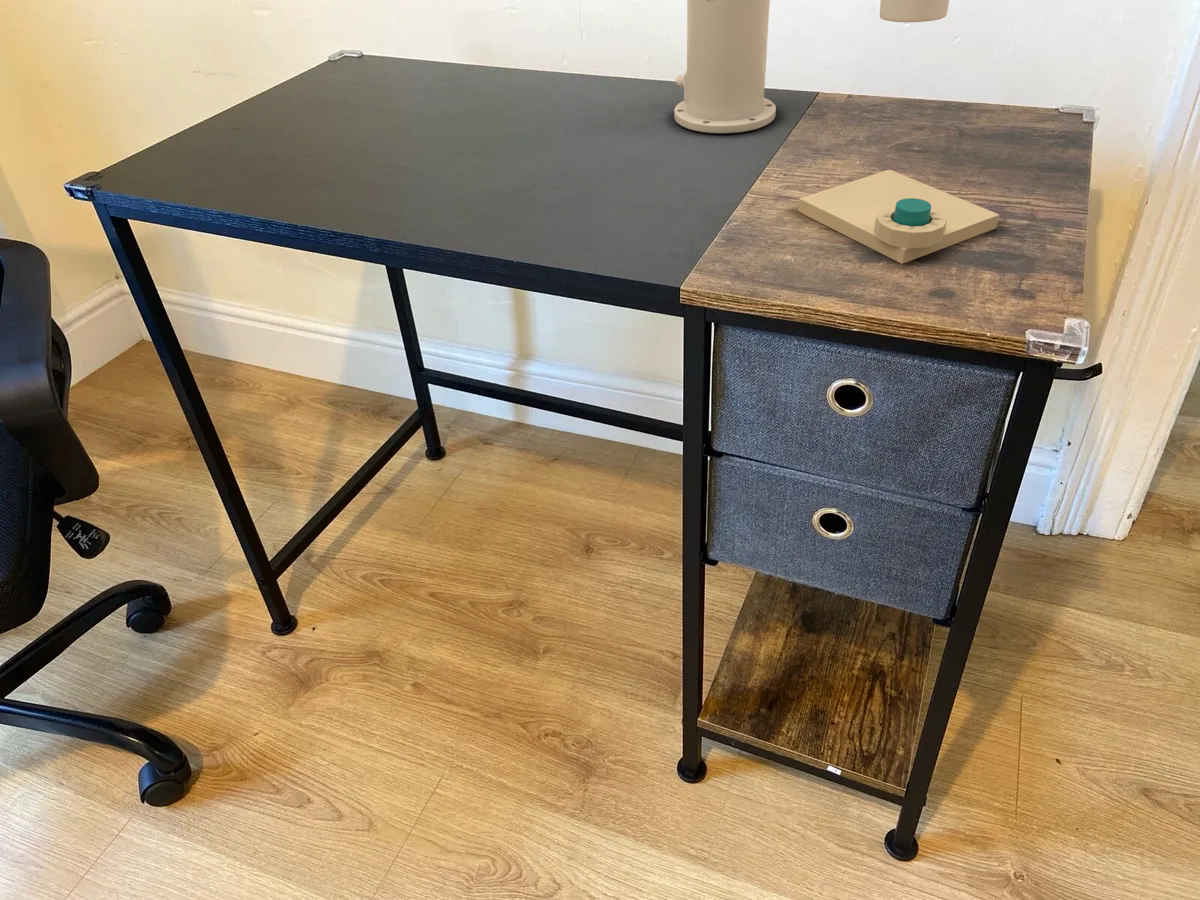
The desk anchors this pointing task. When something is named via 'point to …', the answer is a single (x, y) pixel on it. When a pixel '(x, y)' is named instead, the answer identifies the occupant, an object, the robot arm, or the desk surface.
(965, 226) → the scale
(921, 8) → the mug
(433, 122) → the desk surface
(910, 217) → the button
